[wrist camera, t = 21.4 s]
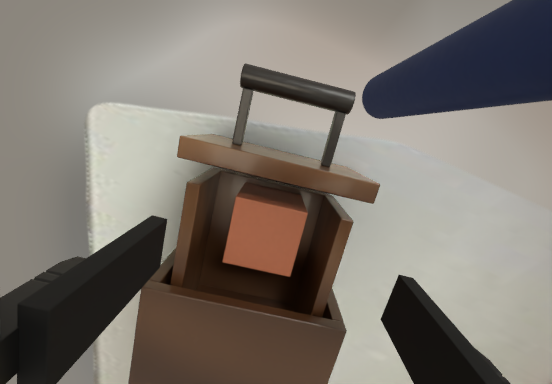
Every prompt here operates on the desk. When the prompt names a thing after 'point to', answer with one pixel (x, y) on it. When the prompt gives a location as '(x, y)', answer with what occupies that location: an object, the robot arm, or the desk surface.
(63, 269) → the robot arm
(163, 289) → the cabinet
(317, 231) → the drawer
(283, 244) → the block
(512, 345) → the desk surface
